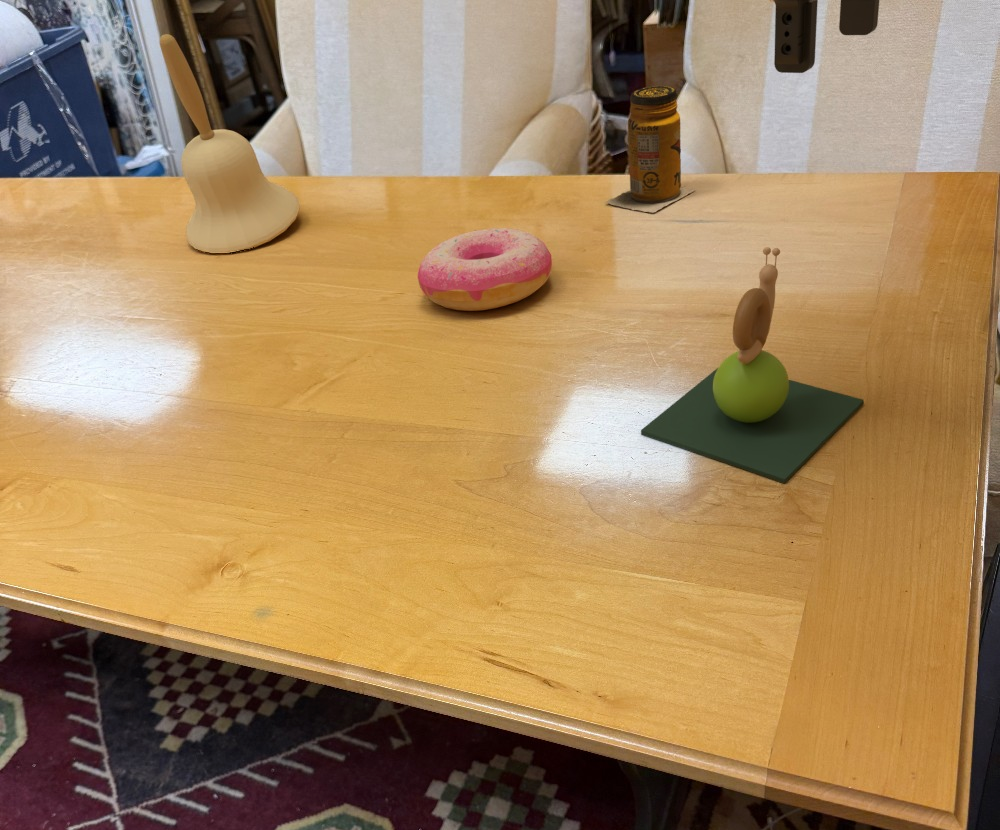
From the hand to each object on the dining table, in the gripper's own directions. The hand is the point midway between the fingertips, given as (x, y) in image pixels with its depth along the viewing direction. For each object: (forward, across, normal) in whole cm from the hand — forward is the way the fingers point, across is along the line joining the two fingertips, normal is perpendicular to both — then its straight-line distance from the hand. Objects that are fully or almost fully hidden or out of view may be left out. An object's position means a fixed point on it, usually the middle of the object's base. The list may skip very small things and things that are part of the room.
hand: (826, 51), depth 56 cm
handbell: (+23, -3, -80) cm, 83 cm away
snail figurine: (+24, +5, -2) cm, 25 cm away
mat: (+25, +5, -2) cm, 25 cm away
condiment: (+25, -33, -36) cm, 55 cm away
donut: (+24, -4, -37) cm, 44 cm away
